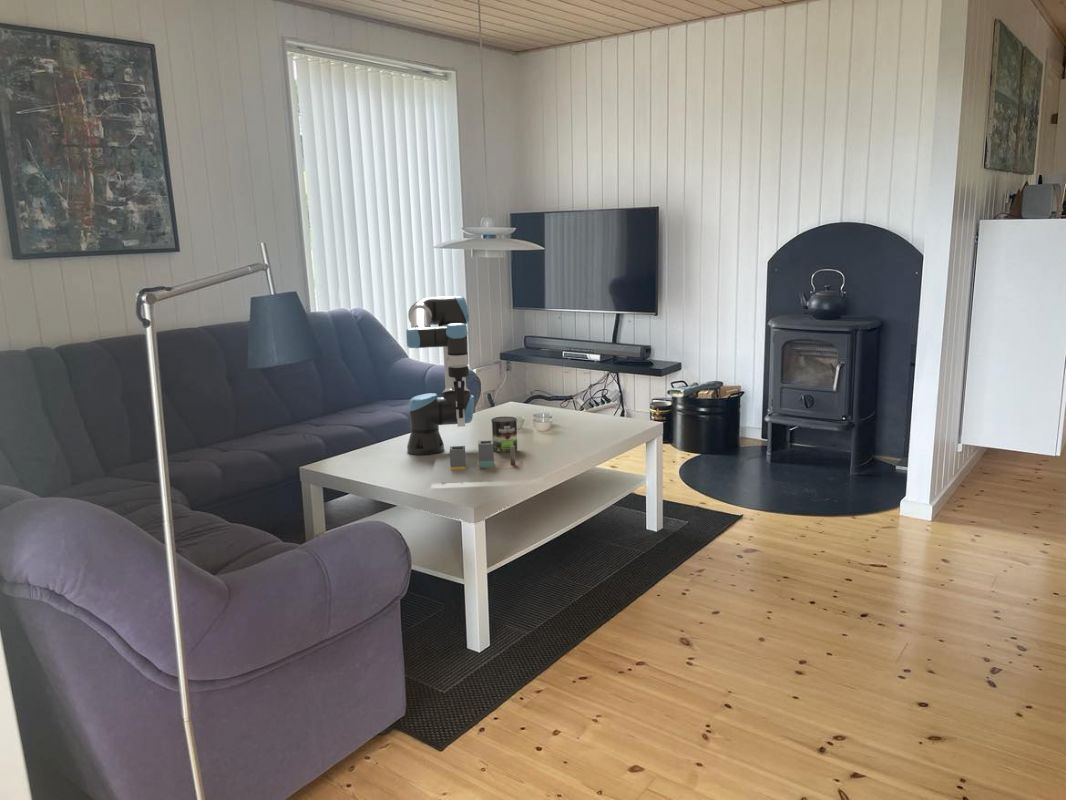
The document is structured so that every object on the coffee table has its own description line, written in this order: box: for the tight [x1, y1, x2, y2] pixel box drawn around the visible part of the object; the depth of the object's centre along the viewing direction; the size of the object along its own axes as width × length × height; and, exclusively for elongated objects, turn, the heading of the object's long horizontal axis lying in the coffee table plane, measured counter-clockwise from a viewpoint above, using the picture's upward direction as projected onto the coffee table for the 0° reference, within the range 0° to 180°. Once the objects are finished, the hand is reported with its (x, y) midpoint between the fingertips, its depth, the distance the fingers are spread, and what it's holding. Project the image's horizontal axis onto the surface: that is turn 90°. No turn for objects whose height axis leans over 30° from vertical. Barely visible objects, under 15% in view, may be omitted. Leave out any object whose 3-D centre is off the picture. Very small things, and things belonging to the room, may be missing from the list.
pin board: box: [475, 446, 525, 471], centre depth 308 cm, size 18×10×8 cm, turn 93°
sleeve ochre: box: [449, 445, 467, 471], centre depth 306 cm, size 6×6×9 cm
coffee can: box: [490, 416, 518, 453], centre depth 331 cm, size 10×10×14 cm
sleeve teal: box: [477, 439, 495, 468], centre depth 308 cm, size 6×6×9 cm
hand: (460, 422), depth 304 cm, fingers open, 13 cm apart
